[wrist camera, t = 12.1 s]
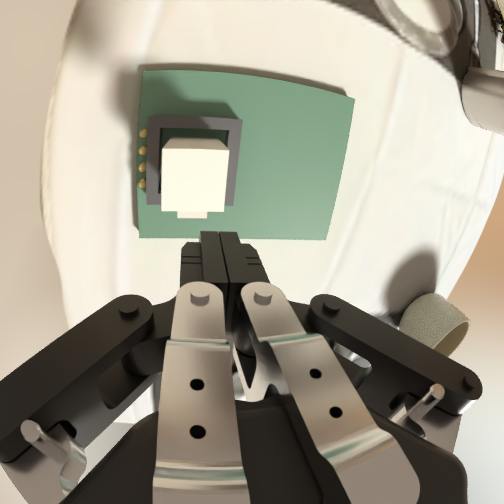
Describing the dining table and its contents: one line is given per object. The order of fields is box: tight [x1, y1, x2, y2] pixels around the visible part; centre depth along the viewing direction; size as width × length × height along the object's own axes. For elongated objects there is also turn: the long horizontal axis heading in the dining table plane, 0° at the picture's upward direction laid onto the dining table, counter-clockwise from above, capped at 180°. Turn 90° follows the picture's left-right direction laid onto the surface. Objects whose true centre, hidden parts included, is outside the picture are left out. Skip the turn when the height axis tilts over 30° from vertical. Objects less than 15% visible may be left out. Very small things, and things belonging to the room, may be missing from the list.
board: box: [137, 70, 355, 240], centre depth 23 cm, size 16×20×3 cm
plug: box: [161, 136, 229, 218], centre depth 19 cm, size 5×4×8 cm
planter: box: [399, 293, 471, 357], centre depth 40 cm, size 12×12×11 cm
